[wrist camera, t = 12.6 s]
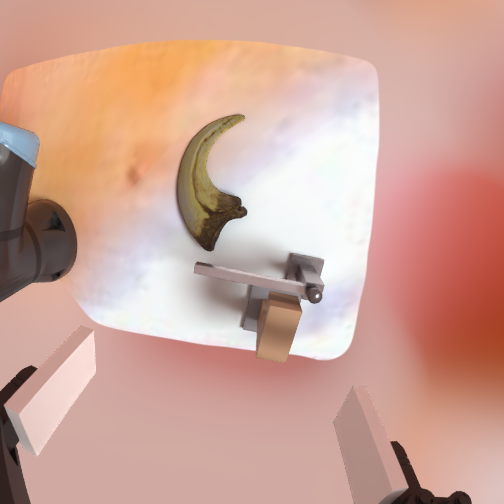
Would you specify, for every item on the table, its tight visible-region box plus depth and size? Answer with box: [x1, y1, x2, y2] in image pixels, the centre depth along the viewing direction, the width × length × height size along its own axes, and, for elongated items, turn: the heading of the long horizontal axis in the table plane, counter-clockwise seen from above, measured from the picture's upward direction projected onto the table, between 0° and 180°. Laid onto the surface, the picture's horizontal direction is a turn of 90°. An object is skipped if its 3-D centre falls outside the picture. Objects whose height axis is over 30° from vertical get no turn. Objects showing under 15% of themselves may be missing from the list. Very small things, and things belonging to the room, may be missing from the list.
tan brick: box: [256, 290, 302, 363], centre depth 42 cm, size 8×4×11 cm, turn 168°
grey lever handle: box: [194, 253, 324, 304], centre depth 42 cm, size 18×5×10 cm, turn 79°
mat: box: [243, 285, 302, 332], centre depth 48 cm, size 8×8×1 cm
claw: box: [178, 115, 247, 251], centre depth 43 cm, size 20×10×3 cm, turn 3°
